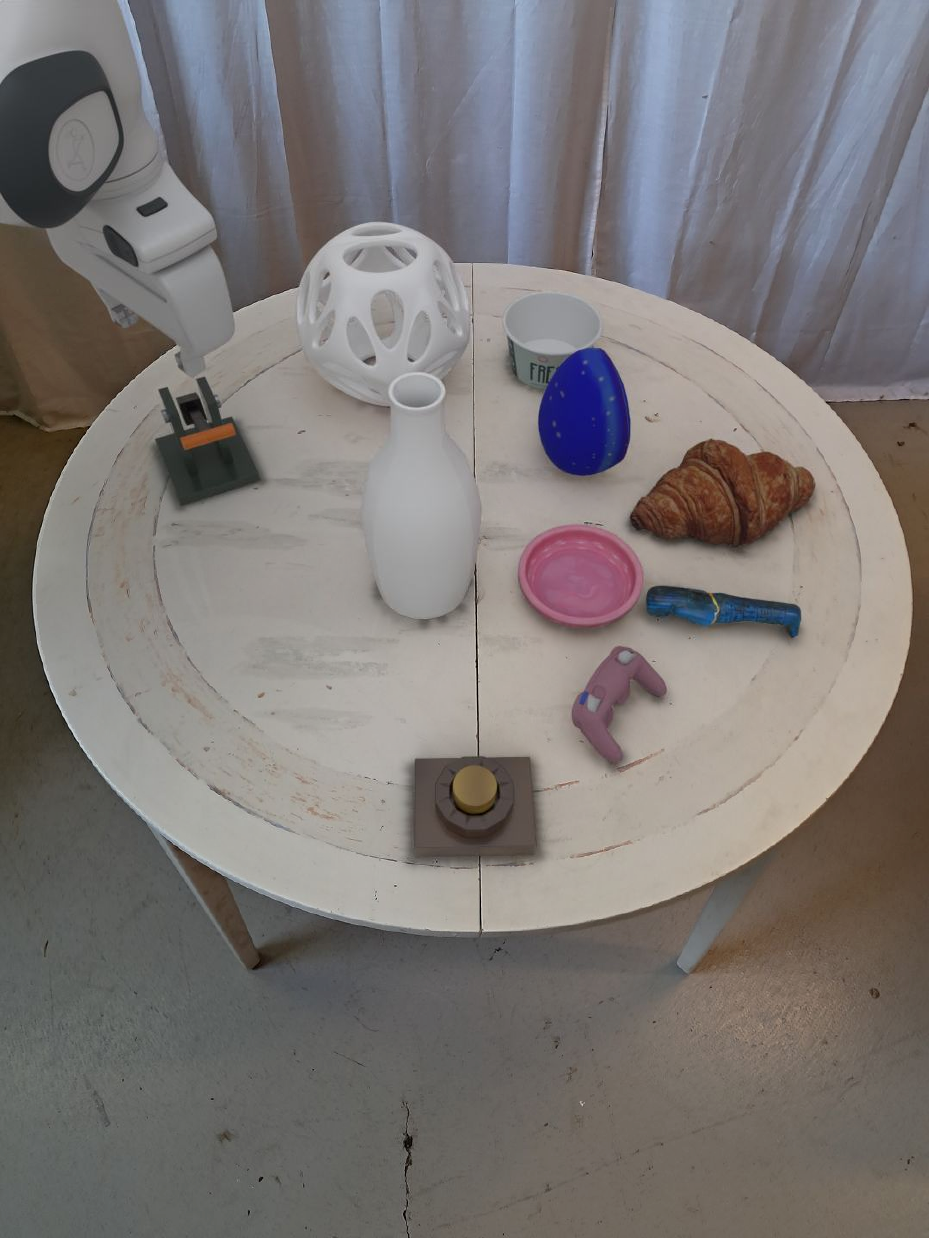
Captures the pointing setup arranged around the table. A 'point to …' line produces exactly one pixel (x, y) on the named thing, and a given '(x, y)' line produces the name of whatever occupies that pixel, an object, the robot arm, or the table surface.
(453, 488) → the bottle
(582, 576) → the saucer
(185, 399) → the switch lever
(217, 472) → the switch bracket
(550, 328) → the food container
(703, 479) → the pastry
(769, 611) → the figurine
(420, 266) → the decorative ball
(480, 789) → the button
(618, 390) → the ornament
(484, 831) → the button block
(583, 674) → the table surface
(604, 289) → the table surface
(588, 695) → the video game controller
